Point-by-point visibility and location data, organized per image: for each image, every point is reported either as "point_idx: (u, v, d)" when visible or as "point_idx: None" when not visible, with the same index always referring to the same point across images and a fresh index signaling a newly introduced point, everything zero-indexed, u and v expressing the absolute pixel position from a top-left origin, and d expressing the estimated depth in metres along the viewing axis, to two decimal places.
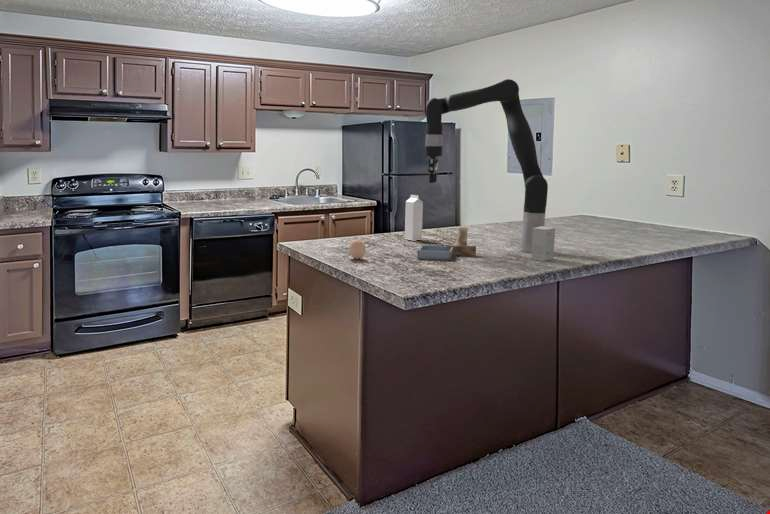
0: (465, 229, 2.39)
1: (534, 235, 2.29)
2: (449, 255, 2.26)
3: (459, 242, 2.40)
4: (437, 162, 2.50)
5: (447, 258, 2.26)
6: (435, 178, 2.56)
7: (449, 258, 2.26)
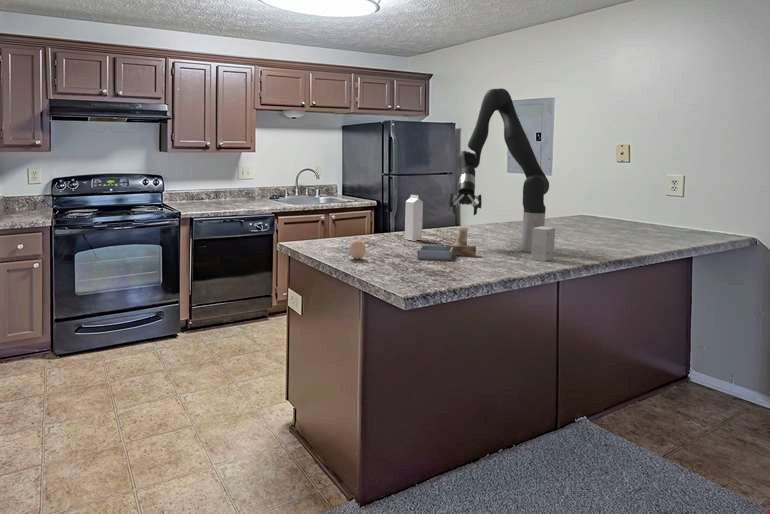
0: (465, 229, 2.39)
1: (534, 235, 2.29)
2: (449, 255, 2.26)
3: (459, 242, 2.40)
4: (462, 195, 2.54)
5: (447, 258, 2.26)
6: None
7: (449, 258, 2.26)
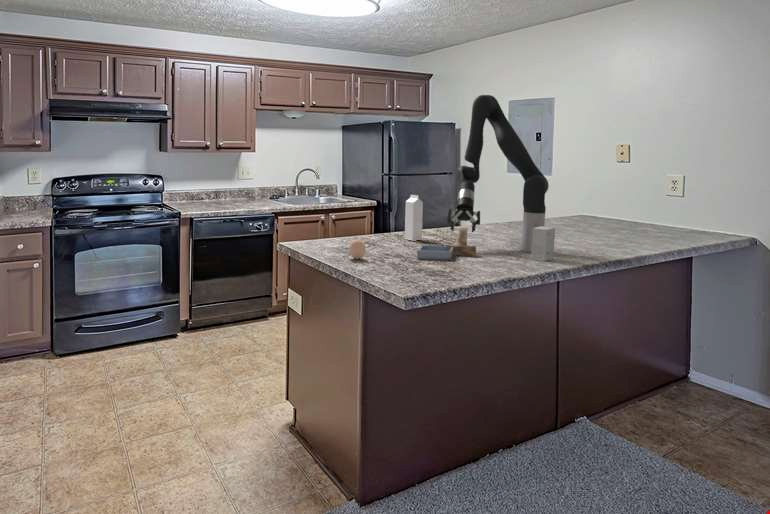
0: (465, 229, 2.39)
1: (534, 235, 2.29)
2: (449, 255, 2.26)
3: (459, 242, 2.40)
4: (461, 211, 2.48)
5: (447, 258, 2.26)
6: (472, 227, 2.44)
7: (449, 258, 2.26)
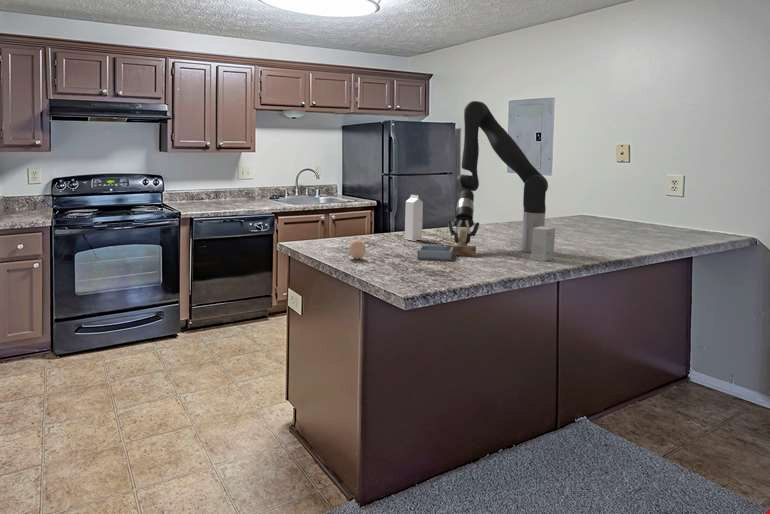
0: (465, 229, 2.39)
1: (534, 235, 2.29)
2: (449, 255, 2.26)
3: (459, 242, 2.40)
4: (460, 221, 2.44)
5: (447, 258, 2.26)
6: (467, 238, 2.40)
7: (449, 258, 2.26)
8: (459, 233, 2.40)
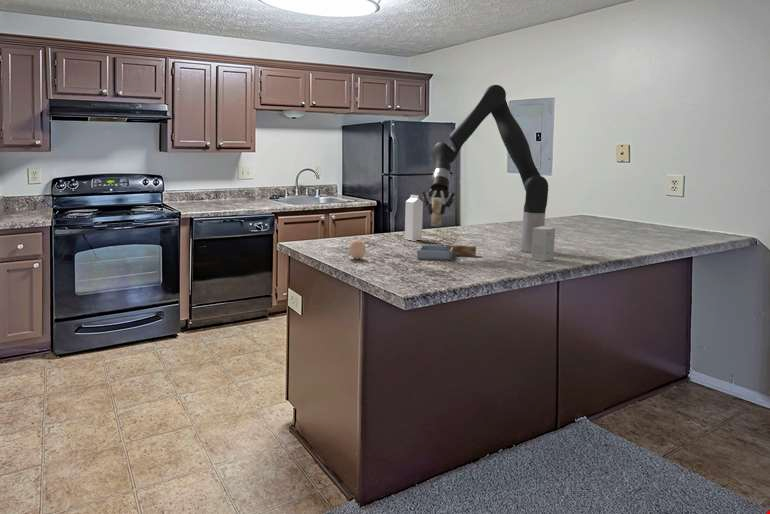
0: (439, 199, 2.28)
1: (534, 235, 2.29)
2: (449, 255, 2.26)
3: (433, 213, 2.29)
4: (435, 191, 2.33)
5: (447, 258, 2.26)
6: (441, 209, 2.29)
7: (449, 258, 2.26)
8: (433, 203, 2.28)
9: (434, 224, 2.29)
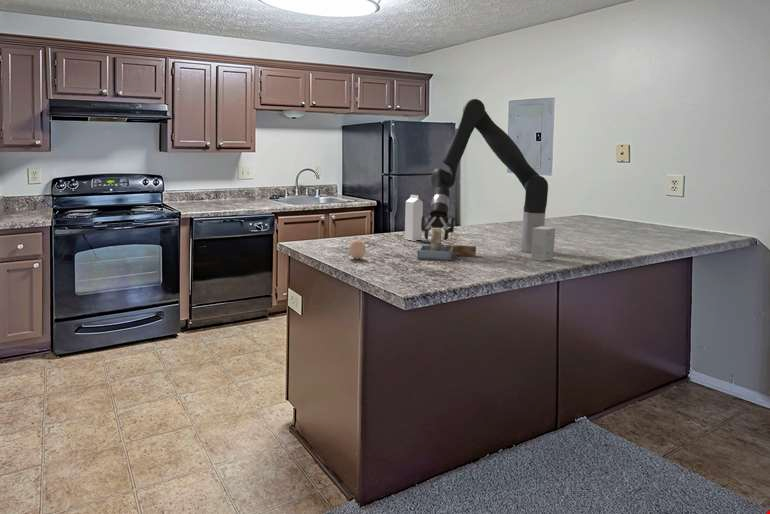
0: (439, 230, 2.29)
1: (534, 235, 2.29)
2: (449, 255, 2.26)
3: (433, 243, 2.31)
4: (434, 218, 2.34)
5: (447, 258, 2.26)
6: (444, 235, 2.30)
7: (449, 258, 2.26)
8: (432, 234, 2.30)
9: None
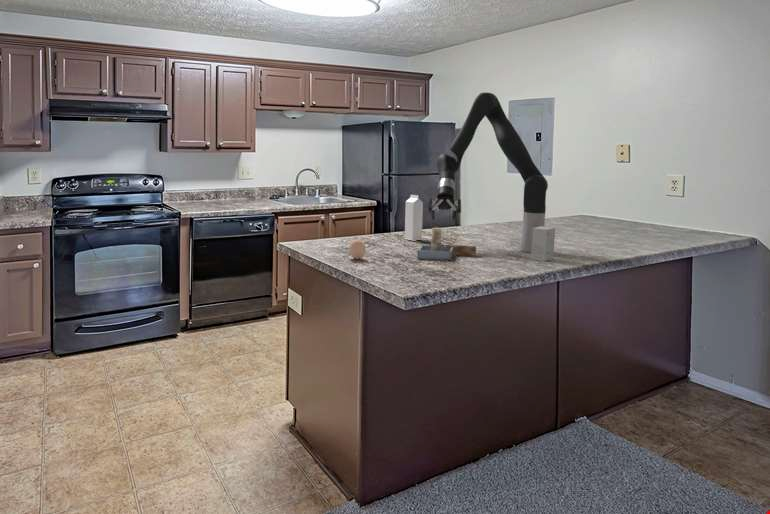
0: (439, 230, 2.30)
1: (534, 235, 2.29)
2: (449, 255, 2.26)
3: (433, 243, 2.31)
4: (441, 200, 2.47)
5: (447, 258, 2.26)
6: None
7: (449, 258, 2.26)
8: (433, 234, 2.30)
9: None
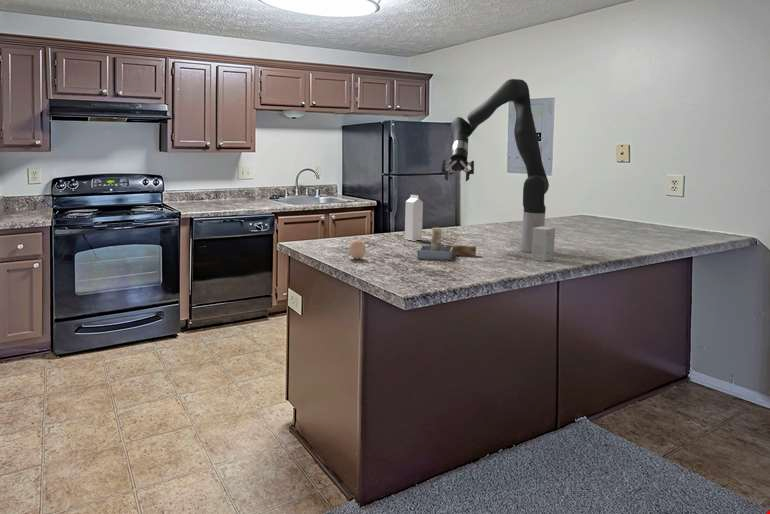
0: (439, 229, 2.30)
1: (534, 235, 2.29)
2: (449, 255, 2.26)
3: (433, 243, 2.31)
4: (455, 161, 2.51)
5: (447, 258, 2.26)
6: (466, 176, 2.47)
7: (449, 258, 2.26)
8: (433, 234, 2.31)
9: None
